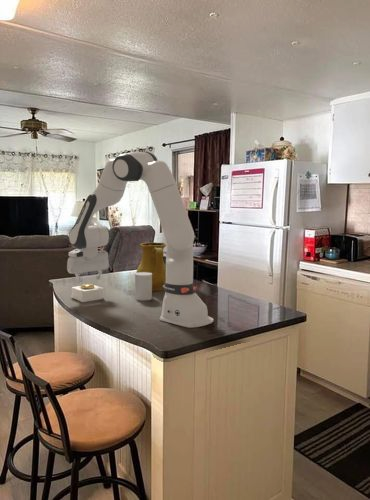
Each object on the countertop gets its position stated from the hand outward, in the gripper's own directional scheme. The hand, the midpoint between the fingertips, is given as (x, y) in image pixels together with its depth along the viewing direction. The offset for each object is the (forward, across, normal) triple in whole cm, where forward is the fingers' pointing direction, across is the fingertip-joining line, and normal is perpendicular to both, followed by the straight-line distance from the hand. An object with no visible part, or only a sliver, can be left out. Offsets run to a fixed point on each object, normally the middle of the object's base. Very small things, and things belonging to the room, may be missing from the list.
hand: (89, 280), depth 188 cm
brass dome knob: (+8, +1, 0) cm, 8 cm away
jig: (+8, +1, 0) cm, 8 cm away
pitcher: (+9, -35, +2) cm, 36 cm away
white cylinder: (+9, -20, +15) cm, 27 cm away
